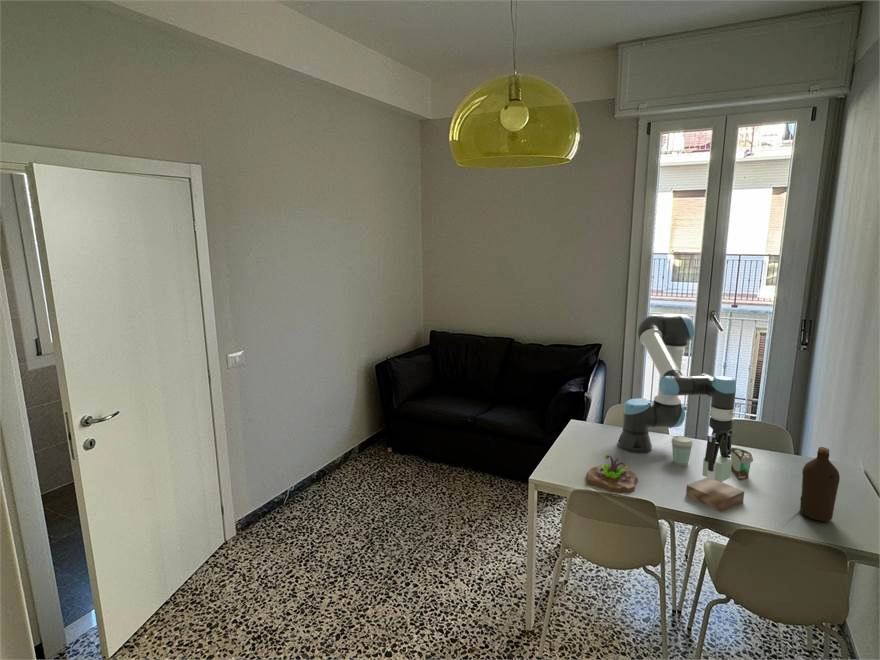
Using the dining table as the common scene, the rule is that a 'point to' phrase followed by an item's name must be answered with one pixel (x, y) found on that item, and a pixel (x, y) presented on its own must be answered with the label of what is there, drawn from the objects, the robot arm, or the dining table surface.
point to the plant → (612, 477)
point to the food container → (741, 463)
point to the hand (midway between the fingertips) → (716, 475)
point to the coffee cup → (681, 450)
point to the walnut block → (715, 494)
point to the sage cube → (719, 468)
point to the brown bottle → (819, 487)
